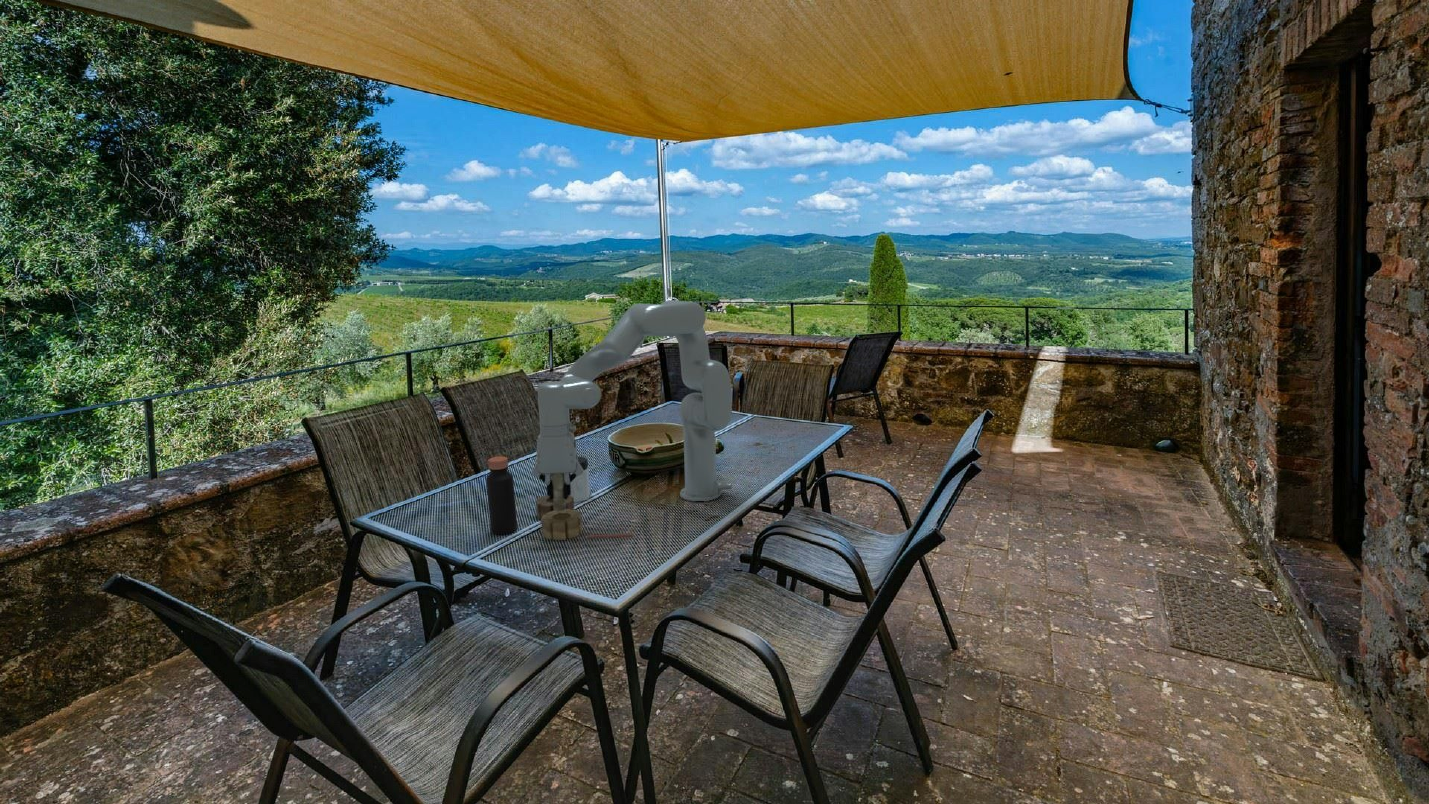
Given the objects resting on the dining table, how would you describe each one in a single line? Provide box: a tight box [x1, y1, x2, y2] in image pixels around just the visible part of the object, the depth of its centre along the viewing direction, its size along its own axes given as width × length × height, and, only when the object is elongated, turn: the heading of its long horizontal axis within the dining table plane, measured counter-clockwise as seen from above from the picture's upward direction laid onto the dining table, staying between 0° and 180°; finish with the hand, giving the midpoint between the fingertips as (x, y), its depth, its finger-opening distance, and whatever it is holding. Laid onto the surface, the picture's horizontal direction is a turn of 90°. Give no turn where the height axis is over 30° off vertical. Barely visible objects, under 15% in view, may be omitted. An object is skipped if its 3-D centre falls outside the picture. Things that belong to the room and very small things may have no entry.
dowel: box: [552, 473, 566, 511], centre depth 171 cm, size 3×3×12 cm
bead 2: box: [540, 508, 583, 541], centre depth 173 cm, size 10×10×4 cm
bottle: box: [485, 456, 518, 536], centre depth 173 cm, size 7×7×20 cm
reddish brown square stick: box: [586, 533, 635, 539], centre depth 170 cm, size 12×1×1 cm, turn 94°
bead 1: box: [535, 494, 575, 520], centre depth 186 cm, size 10×10×4 cm
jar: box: [570, 455, 591, 504], centre depth 198 cm, size 9×8×12 cm
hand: (559, 497), depth 171 cm, fingers closed on dowel, 3 cm apart
